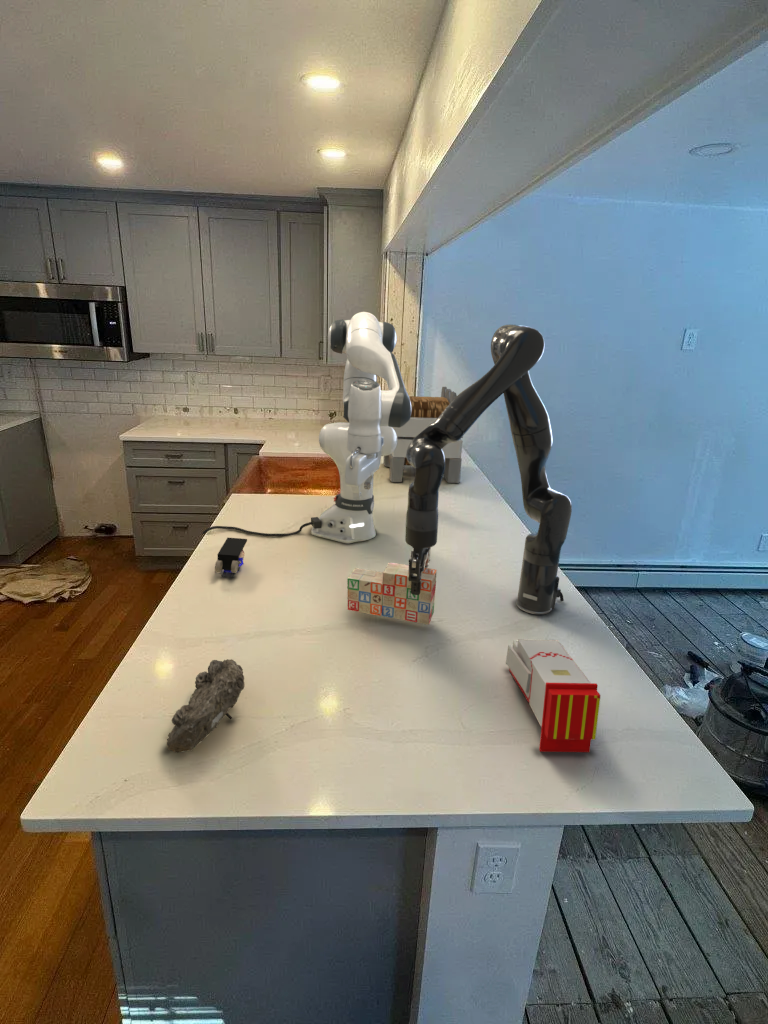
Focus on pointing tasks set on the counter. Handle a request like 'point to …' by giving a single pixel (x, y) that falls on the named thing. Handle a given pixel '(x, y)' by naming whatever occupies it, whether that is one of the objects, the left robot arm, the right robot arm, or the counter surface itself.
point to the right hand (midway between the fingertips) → (418, 587)
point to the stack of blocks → (392, 593)
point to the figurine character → (230, 556)
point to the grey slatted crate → (421, 418)
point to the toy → (556, 694)
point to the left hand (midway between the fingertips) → (362, 493)
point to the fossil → (206, 705)
